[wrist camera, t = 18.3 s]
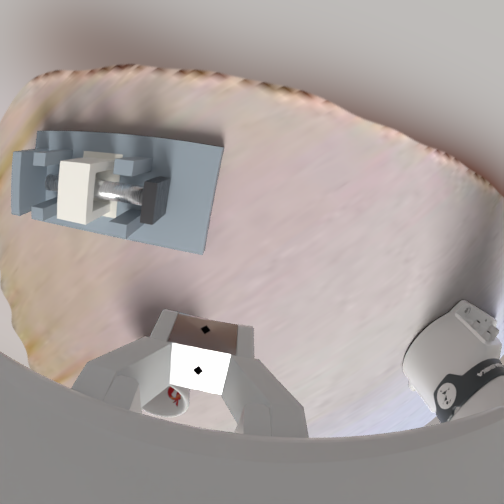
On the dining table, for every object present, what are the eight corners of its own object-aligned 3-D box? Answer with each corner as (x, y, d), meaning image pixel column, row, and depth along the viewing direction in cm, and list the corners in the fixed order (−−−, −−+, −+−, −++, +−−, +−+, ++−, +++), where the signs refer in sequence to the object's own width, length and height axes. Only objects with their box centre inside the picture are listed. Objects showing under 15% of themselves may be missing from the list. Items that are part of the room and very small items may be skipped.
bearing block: (224, 147, 26) (217, 146, 20) (204, 249, 30) (194, 276, 24) (44, 130, 24) (10, 132, 18) (39, 215, 28) (7, 230, 22)
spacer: (83, 206, 26) (56, 218, 21) (88, 156, 24) (60, 160, 20) (110, 211, 27) (85, 224, 22) (115, 160, 25) (90, 164, 20)
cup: (179, 312, 33) (163, 355, 25) (224, 351, 35) (219, 396, 28) (131, 351, 35) (113, 390, 28) (173, 383, 37) (162, 423, 30)
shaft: (170, 178, 25) (157, 183, 21) (165, 213, 27) (152, 225, 23) (60, 163, 24) (37, 167, 20) (58, 195, 25) (36, 203, 21)
